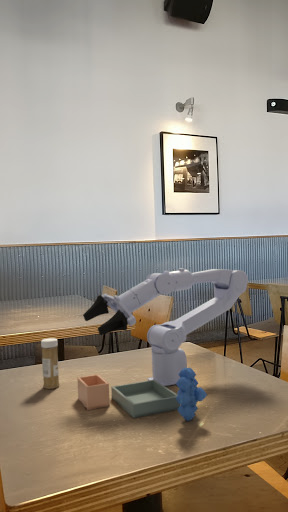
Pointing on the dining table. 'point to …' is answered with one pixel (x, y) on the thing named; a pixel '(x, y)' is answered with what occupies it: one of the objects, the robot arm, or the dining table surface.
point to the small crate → (93, 391)
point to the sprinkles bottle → (50, 363)
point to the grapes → (188, 393)
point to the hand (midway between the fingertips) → (91, 324)
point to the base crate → (144, 398)
